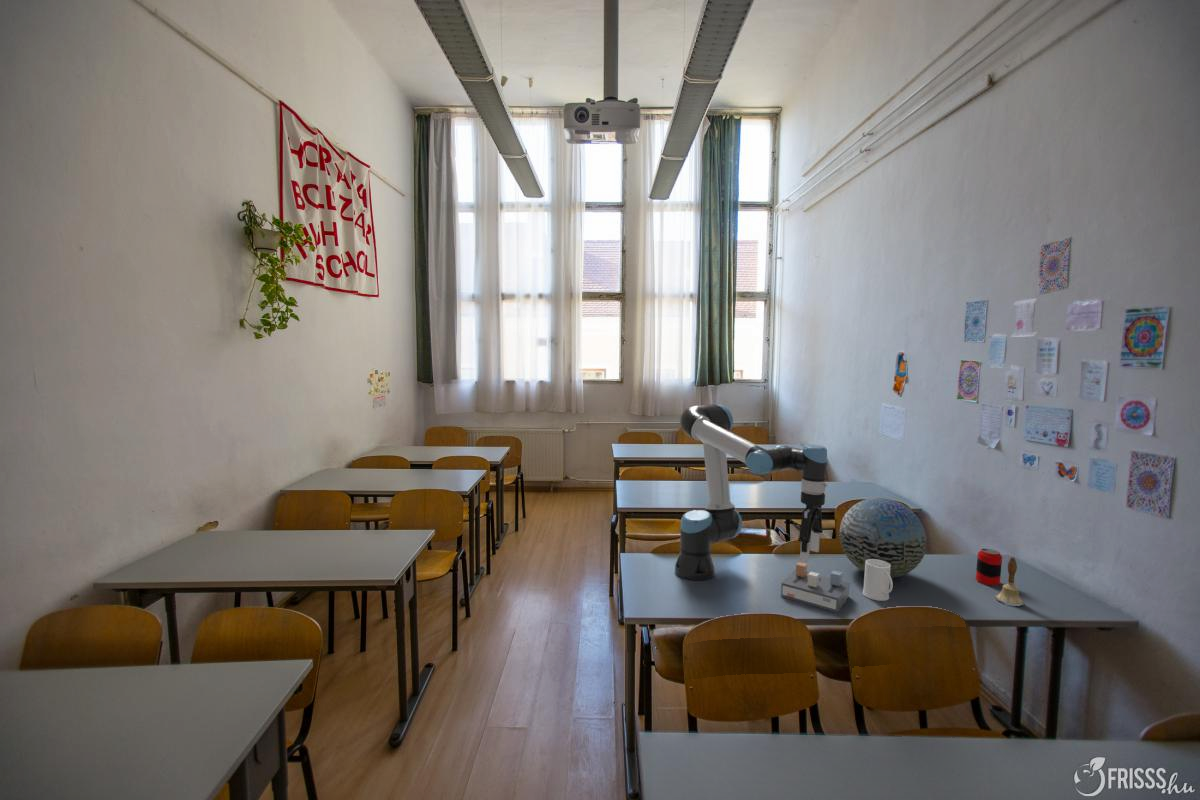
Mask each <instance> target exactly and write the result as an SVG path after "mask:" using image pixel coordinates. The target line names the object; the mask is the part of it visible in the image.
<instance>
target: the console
mask: <svg viewBox="0 0 1200 800" xmlns="http://www.w3.org/2000/svg"><path fill="white" fill-rule="evenodd" d="M809 573H810V572H808V571H807V575H806V576H805V577H801V576H797V575H796V568H795V569H794V570H793V571H792V572H791V573H790V574H789V575H788V576H787V577H786V578H785V579H784V580H783V581H782V582H781V586H780V587H781V589H780V597H781V598H785V599H789V600H793V601H795V602H796V601H797V602H800V603H802V604H806V605H810V606H813V607H817V608H819V609H824V610H827V611H831V612H834V613H838V612H839V611H840V610H841V609H842V608H843V606H844V604H845V603H846V602H847V600H848V598H849V595H850V582H846V581H842V582H841V585H840V586H835V585H831V584H830V578H831V577H827V576H823V575H820V574H819V585H818V586H817V587H812V586H808V585H807V583H808V574H809Z"/></svg>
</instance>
